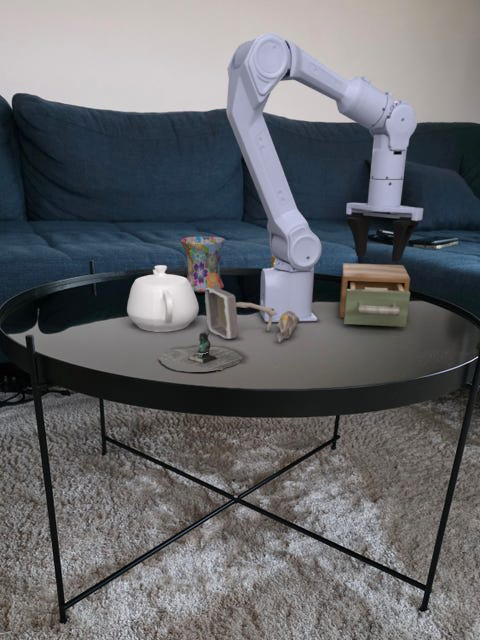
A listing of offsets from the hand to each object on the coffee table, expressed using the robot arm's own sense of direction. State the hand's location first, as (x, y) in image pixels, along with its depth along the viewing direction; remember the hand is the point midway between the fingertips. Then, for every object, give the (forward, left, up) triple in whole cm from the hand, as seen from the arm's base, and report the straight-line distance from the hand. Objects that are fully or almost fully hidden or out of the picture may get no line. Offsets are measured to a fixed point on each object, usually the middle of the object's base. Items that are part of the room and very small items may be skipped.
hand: (378, 258), depth 110 cm
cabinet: (-1, 0, -10) cm, 10 cm away
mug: (-32, +21, -10) cm, 39 cm away
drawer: (-3, -10, -9) cm, 14 cm away
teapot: (-40, -6, -10) cm, 42 cm away
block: (-3, -9, -8) cm, 12 cm away
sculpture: (-35, -25, -10) cm, 44 cm away
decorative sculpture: (-25, -15, -10) cm, 30 cm away
